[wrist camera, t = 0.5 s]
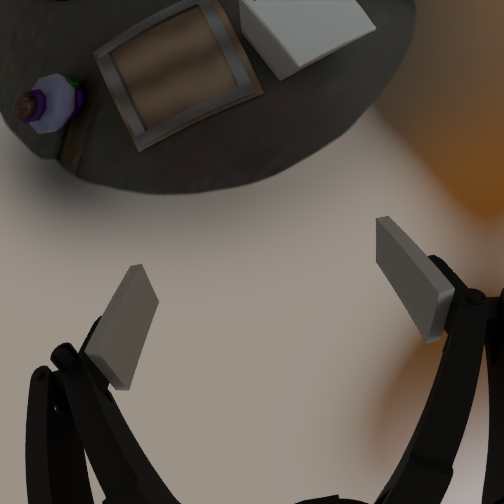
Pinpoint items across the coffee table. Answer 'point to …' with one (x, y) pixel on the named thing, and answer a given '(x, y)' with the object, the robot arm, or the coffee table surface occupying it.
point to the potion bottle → (51, 103)
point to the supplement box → (300, 30)
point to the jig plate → (176, 70)
